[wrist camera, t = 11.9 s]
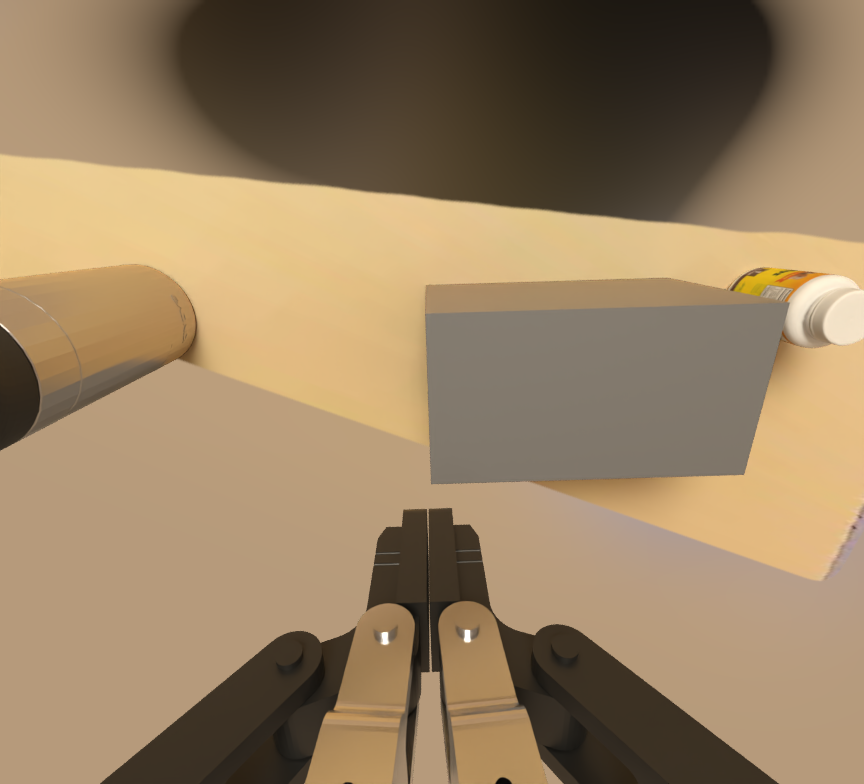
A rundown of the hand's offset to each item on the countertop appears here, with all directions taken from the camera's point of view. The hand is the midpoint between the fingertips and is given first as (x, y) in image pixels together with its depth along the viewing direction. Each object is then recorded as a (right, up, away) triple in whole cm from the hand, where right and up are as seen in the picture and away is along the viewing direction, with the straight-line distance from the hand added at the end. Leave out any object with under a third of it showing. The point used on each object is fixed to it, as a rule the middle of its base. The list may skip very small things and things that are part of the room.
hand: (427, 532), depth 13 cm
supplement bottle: (+30, +13, +26) cm, 42 cm away
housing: (+11, +9, +28) cm, 31 cm away
